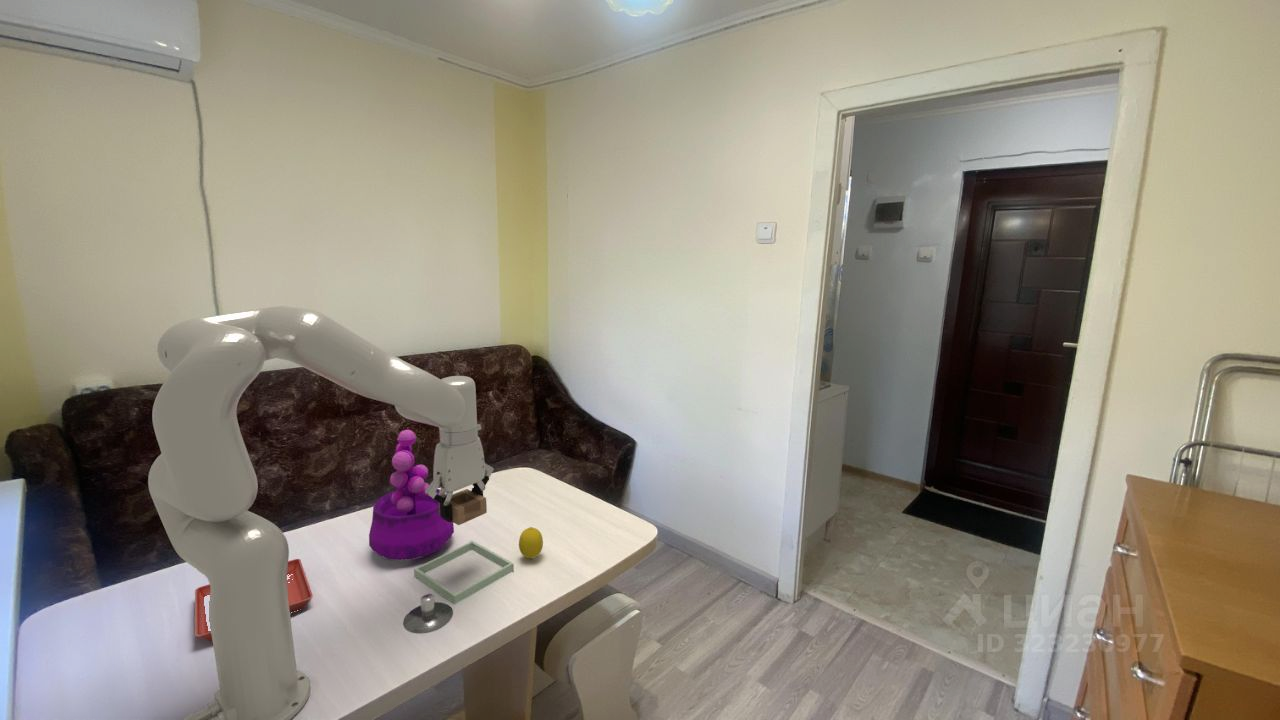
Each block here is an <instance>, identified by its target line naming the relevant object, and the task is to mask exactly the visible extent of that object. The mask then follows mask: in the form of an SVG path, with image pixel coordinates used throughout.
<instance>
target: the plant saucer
mask: <svg viewBox="0 0 1280 720" xmlns="http://www.w3.org/2000/svg"><path fill="white" fill-rule="evenodd" d="M302 563H303V562H302V560H301V559H300V558H293V559H291V560H288V567H287V575H288V574H289V575H291V574H293V575H291V576H290V577H289V578H290V579H288V580H287V593H288V602H289V609H290V613H291V612H294V611H297V610H300V609H301V610H303V609H304V608H305V607H306V606H307V605H308V604H309V603H310V601H311V600H312V599H313V597H314V594H313V591H312V590H311V587H310V586H311V585H310V584H309V581H308V577H307V574H306V572H305V570H304V569H305V568H304V567H303V564H302ZM289 575H288V576H289ZM292 579H293V580H292ZM288 582H290V583H288ZM210 594H211V587H210V583H209V584H206V585H203V586H199V587H198V588H195V590H194V606H195V607H194V609H195V611H194V621H195V622H194V623H195V624H194V626H195V627H194V630H195V632H194V636H195V637H197V638H199V639H201V640H206V641H212V634H211V631H208V626H207V622H206V614H205V606H204V597H205V596H207V595H210ZM302 608H303V609H302ZM301 610H300V611H301ZM297 612H298V611H297ZM294 613H295V612H294ZM291 614H292V613H291Z"/></svg>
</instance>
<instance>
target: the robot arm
mask: <svg viewBox="0 0 1280 720" xmlns="http://www.w3.org/2000/svg"><path fill="white" fill-rule="evenodd" d="M156 351H157V356H158V359H159V361H160V363H161V364H162V365H163V366H164V368H166V369H167V370H168V371H169V372H170V373H169V374H168V376H167V377H166V379H165V380H164V382H163V384H162V385H161V387H160V388H159V391H158V392H157V395H156V396H155V399H154V403H153V405H152V415H151V416H152V418H151V419H152V420H151V421H152V426H153V429H154V433H155V437H156V441H157V443H158V446H159V450H160V455H158V456H157V457H156V459H155V460H154V462H153V463H152V464H151V467H150V468H149V471H148V478H147V479H148V480H147V484H148V491H149V494H150V496H151V499H152V501H153V504H154V507H155V509H156V512H157V513H158V516H159V518H160V520H161V521H160V522H161V523H162V525H163V527H164V531H165V532H166V535H167V537H168V539H169V541H170V543H171V545H172V547H173V549H174V551H175V552H176V553H177V555H178V556H179V557H180V559H183V561H185V562H186V563H187V564H188V565H190V566H191V567H193V568H194V569H196V570H197V571H198V572H199V573H201V574H202V575H204V576H205V578H206V579H207V581H208V583H209V584H210V587H211V594H210V601H209V622H210V629H211V634H212V640H211V641H212V646H213V652H214V660H215V666H216V672H217V674H216V675H217V680H218V686H219V690H217V691H215V692H214V693H213V694H214V696H213V697H214V700H213V701H211V702H209V703H207V704H206V705H207V707H205V708H203V709H201V710H199V711H197V712H194V713H192V714H191V715H189V716H187V717H185V718H183V719H182V720H291V719H292V718H294V717H295V716H296V715H297V714H298V713H299V712H300V711H301V709H302V708H303V707H304V706H305V705H306V703H307V702H308V700H309V697H310V693H311V682H310V681H311V680H310V679H309V677H308V676H307V674H305V673H303V672H302V671H300V670H297V662H296V655H295V646H294V645H295V644H294V638H293V637H294V635H293V629H292V628H293V627H292V620H291V619H292V618H291V614H290V609H289V602H288V593H287V567H288V561H289V558H290V557H289V556H290V548H289V543H288V540H287V537H286V536H285V533H284V532H283V531H282V530H281V529H280V528H279V527H278V526H277V525H275V523H273V522H271V521H270V520H269V519H266V518H264V517H262V516H261V515H258V514H256V513H254V512H252V511H249V509H251V507H252V505H253V504H254V502H255V500H256V498H257V495H258V489H259V487H258V486H259V483H258V477H257V474H256V471H255V468H254V466H253V464H252V461H251V459H250V455H249V453H248V450H247V446H246V444H245V441H244V438H243V436H242V433H241V429H240V425H239V423H238V417H237V416H238V415H237V410H238V408H237V407H238V404H239V400H240V398H241V397H242V395H243V394H244V392H245V391H246V389H247V388H248V387H249V386H250V384H252V382H253V381H254V380H255V379H256V378H257V377H258V375H260V373H261V371H262V369H263V367H264V365H265V364H264V363H265V362H266V361H270V360H273V359H280V360H283V361H289V362H291V363H294V364H296V365H298V366H300V367H302V368H305V369H306V370H309V371H310V372H313V373H314V374H316V375H319V376H321V377H323V378H325V379H326V380H329V381H330V382H333V383H335V384H336V385H338V386H340V387H342V388H345V389H346V390H348V391H350V392H351V393H355V394H357V395H360V396H362V397H365V398H368V399H371V400H376V401H379V402H382V403H386V404H390V405H393V406H394V408H395V410H396V412H397V413H398V414H399V415H400V416H401V417H403V418H405V419H407V420H410V421H414V422H417V423H422V424H426V425H429V426H434V427H437V428H438V429H439V432H438V433H439V442H438V443H437V444H436V445H435V449H434V456H433V471H432V472H433V480H432V481H431V483H430V484H429V486H428V488H427V489H426V490H425V493H426V494H427V495H428V496H430V497H431V498H432V499H434V500H435V501H437V502H439V503H440V516H441V518H442V519H444V520H446V521H447V522H449V523H450V522H452V504H450V503H449V502H450V500H451V497H452V495H453V494H454V492H456V491H458V490H459V491H460V490H462V489H464V488H466V487H469V486H473V487H472V488H471V490H470V491H472V492H474V493H476V494H478V495H481V496H483V497H484V491H485V490H486V488H487V487H486V485H487V483H488V482H489V481H490V477H491V476H492V474H493V472H494V467H493V466H491V465H489V464H488V463H486V462H485V455H484V449H483V445H482V441H481V438H480V437H479V435H478V434H479V433H478V432H479V431H481V430H482V425H481V424H480V423H478V418H477V417H478V415H477V414H478V413H477V393H476V391H477V390H476V389H477V388H476V382H475V381H474V379H473V378H471V377H470V376H467V375H466V376H465V375H452V376H447V377H444V378H441V379H440V378H439V377H437V376H435V375H433V374H432V373H430V372H428V371H426V370H423V368H420V367H417V366H415V365H413V364H411V363H409V362H407V361H404V360H403V359H401V358H400V357H398V356H396V355H393V354H391V353H390V352H386V351H385V350H383V349H382V348H380V347H378V346H376V345H374V344H372V343H371V342H370V341H368V340H366V339H364V338H362V337H361V336H359V335H358V334H356V333H355V332H353V331H352V330H350V329H348V328H347V327H345V326H343V325H342V324H340V323H338V322H337V321H335V320H333V319H331V317H328V316H327V315H325V314H322V313H321V312H318V311H315V310H314V309H308V308H307V309H306V308H298V307H291V306H270V307H264V308H256V309H252V310H245V311H239V312H232V313H226V314H219V315H213V316H207V317H205V316H204V317H199V318H193V319H188V320H184V321H181V322H179V323H176V324H174V325H173V326H171V327H169V328H168V329H167V330H165V331H164V333H163V334H162V335H161V337H160V338H159V341H158V343H157V350H156ZM437 489H439V490H440V492H439V495H438V494H437V493H436V490H437ZM445 494H446V495H445ZM444 496H445V498H444Z"/></svg>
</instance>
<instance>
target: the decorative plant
mask: <svg viewBox="0 0 1280 720" xmlns="http://www.w3.org/2000/svg"><path fill="white" fill-rule="evenodd" d="M396 439H397V442H398V444H397V445H396V448H395V453H394V455H393V456H392V459H391V464H392V466H393V469H395V470H396V471H394V472H392V474H390V478H389V483H390V485H392V486H393V487H394V488H395V489H396V490H394V491H391V492H389V493H386V494H384V495H383V496H381V497H380V498H379V499H377V500H376V501H375V502H374V505H373V506H372V507H373V508H372V519H371V525H370V529H369V533H368V545H369V547H370V549H371V550H372V552H374V553H375V554H376V555H378V556H380V557H382V558H384V559H386V560H393V561H408V560H409V561H410V560H415V559H419V558H423V557H427V556H428V555H431V554H433V553H435V552H437V551H439V549H442V547H444V546H445V545H446V544H447V543H448V541H449V540H450V539H451V538H452V536H453V534H454V533H455V528H454V527H455V526H454V525H455V524H454V523H453V522H450V523H449V522H447V521H446V520H444V519H442V518H441V516H440V515H439V502H437V501H435V500H434V499H432V498H431V497H430V496H428V495H427V494H426V493H425V490H426V489H427V488H428V486H429V485H430V484H429V483H428V482H425V479H427V477H428V474H429V469H428V467H427V466H426V465H425V464H417V465H416V466H414V464H415V456H414V454H413V453H412V451H413V447H412V445H414V443H415V442H416V439H417V436H416V433H415V432H414V431H412V430H410V429H404V430H401V431H400V432H399V433H398V437H397V438H396ZM439 492H440V488H437V490H436V493H437V494H438V495H439ZM445 495H446V493H445ZM444 498H445V496H444Z"/></svg>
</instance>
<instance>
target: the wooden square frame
mask: <svg viewBox="0 0 1280 720" xmlns="http://www.w3.org/2000/svg"><path fill="white" fill-rule="evenodd" d="M449 503H450V504H452V522H453V524H454V525H457V526H460V525H463V524H465V523H467V522H470V521H471V520H474V519H476V518H478V517H481V516H483V515H485V514H487V512H488V509H487V508H488V507H487V497H486V496H484V495H483V496H481V495H478V494H476V493H474V492H472V491H471V490H470V489H468V488H465V489H463V490H459V491H458V492H455V493H453V494H452V497H451V500H450V502H449ZM439 515H440V503H439Z"/></svg>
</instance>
